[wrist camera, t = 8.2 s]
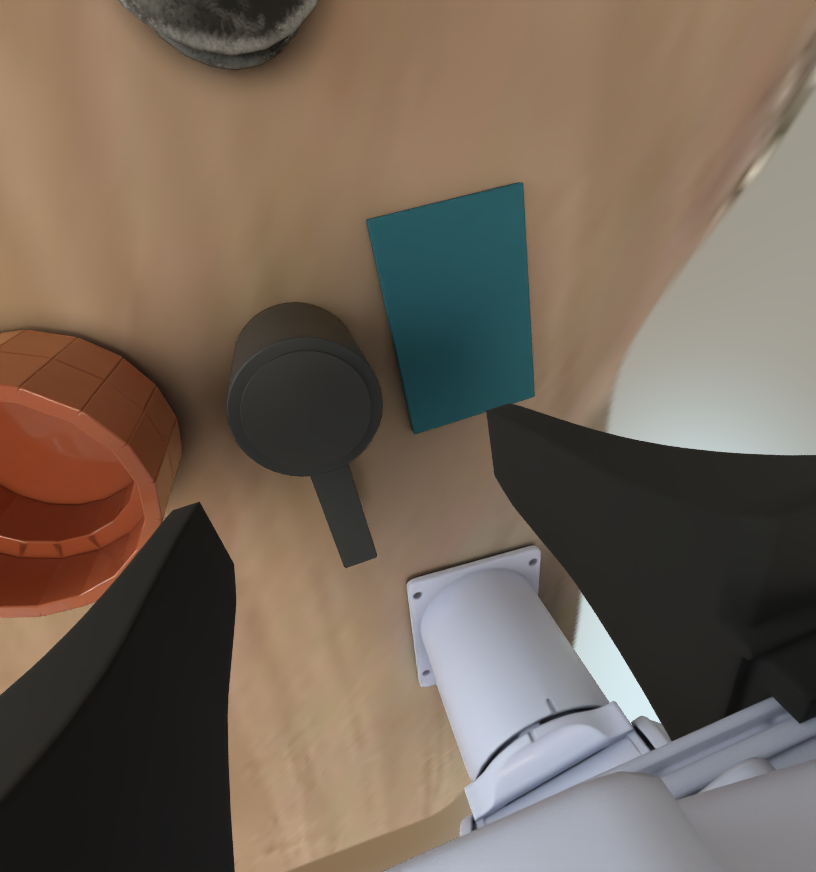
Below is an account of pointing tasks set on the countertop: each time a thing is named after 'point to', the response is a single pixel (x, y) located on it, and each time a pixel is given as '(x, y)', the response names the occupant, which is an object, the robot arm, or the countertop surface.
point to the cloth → (458, 303)
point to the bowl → (76, 470)
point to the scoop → (308, 410)
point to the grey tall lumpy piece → (224, 27)
